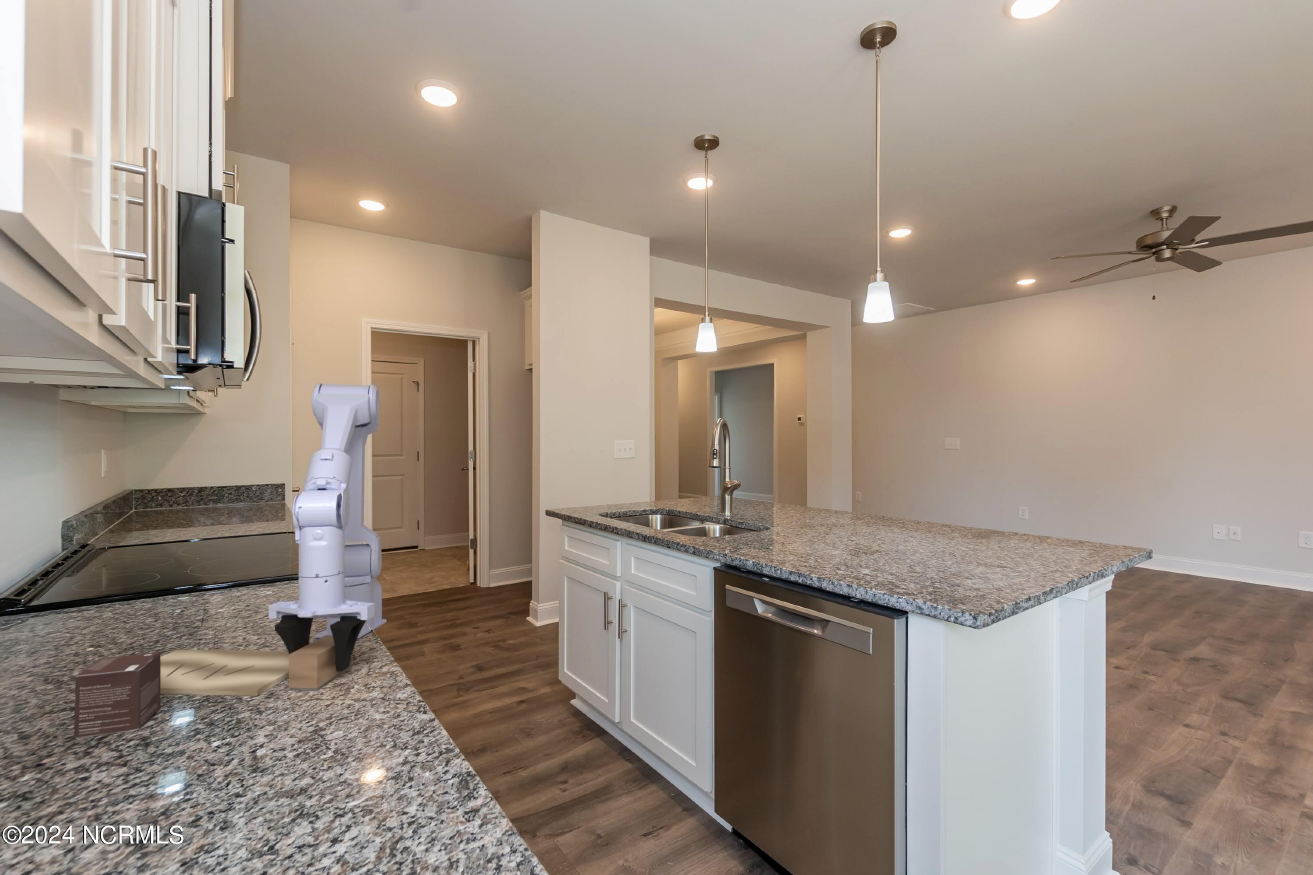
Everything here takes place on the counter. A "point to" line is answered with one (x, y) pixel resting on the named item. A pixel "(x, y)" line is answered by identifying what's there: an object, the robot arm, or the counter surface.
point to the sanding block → (314, 665)
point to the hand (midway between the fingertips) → (321, 668)
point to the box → (117, 694)
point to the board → (222, 672)
